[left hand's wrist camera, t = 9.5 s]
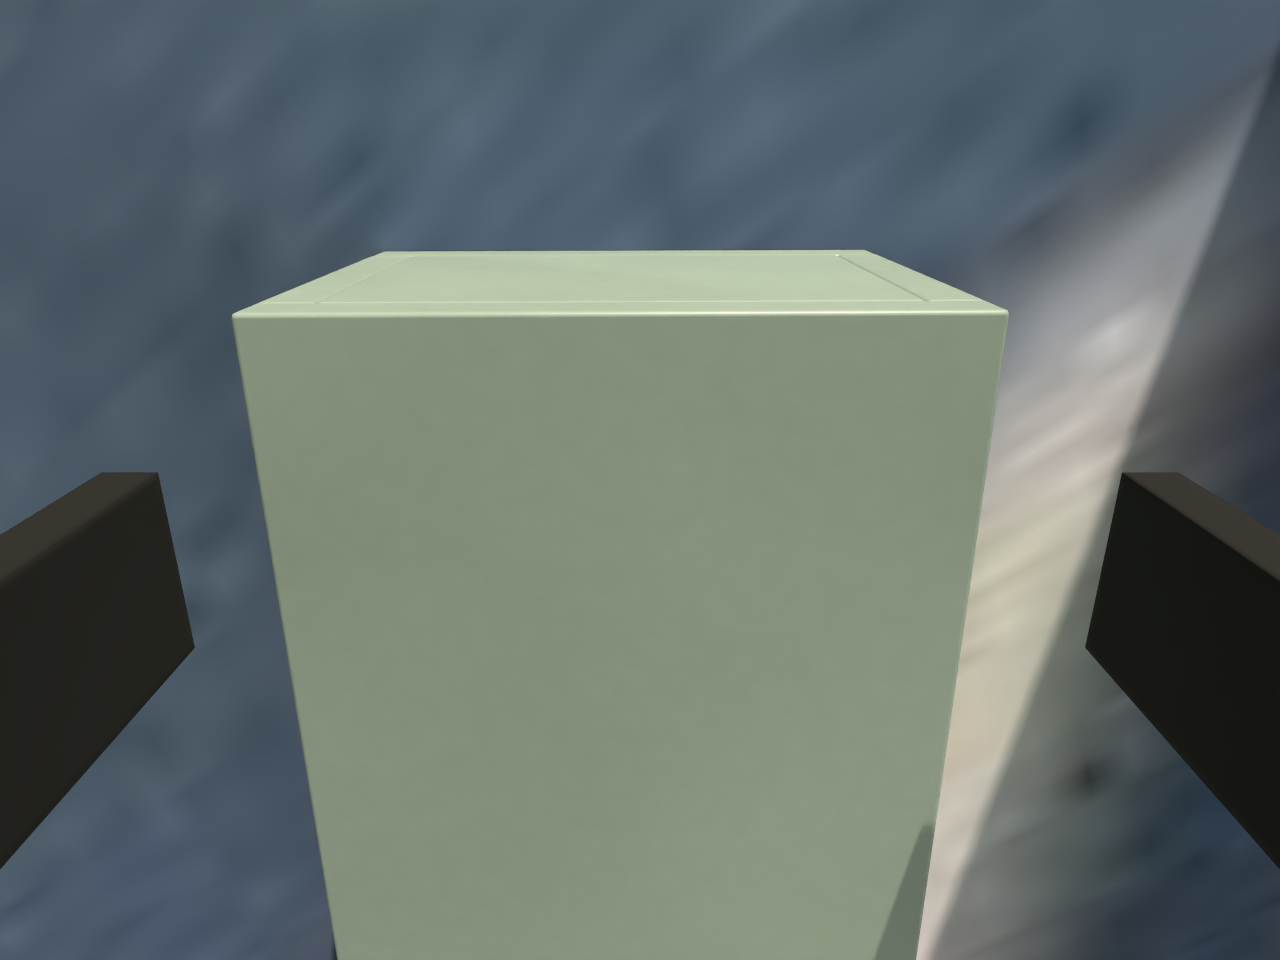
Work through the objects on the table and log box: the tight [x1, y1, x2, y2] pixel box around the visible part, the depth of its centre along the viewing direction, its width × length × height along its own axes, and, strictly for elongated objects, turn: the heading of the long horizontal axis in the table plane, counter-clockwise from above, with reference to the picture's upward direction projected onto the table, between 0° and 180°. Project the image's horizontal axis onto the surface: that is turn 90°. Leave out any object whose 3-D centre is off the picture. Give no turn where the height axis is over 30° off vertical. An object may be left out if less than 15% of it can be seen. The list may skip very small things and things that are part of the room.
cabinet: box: [232, 250, 1009, 960], centre depth 20 cm, size 20×11×8 cm, turn 0°
